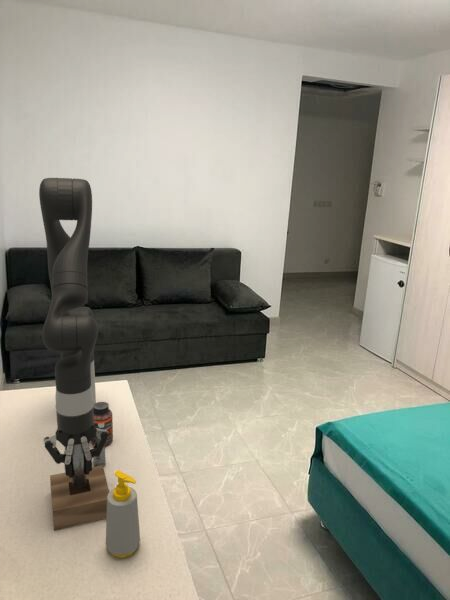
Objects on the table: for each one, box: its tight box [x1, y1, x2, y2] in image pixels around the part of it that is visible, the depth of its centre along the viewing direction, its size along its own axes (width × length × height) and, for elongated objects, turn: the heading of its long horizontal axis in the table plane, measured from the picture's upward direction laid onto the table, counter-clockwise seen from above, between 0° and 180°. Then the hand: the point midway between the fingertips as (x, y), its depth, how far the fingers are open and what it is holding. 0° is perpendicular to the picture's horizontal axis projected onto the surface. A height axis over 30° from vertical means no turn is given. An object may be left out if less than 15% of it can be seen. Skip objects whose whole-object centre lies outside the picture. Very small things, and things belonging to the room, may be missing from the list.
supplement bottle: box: [90, 401, 114, 447], centre depth 132 cm, size 6×6×11 cm
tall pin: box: [71, 443, 86, 488], centre depth 107 cm, size 3×3×11 cm
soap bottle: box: [105, 469, 141, 559], centre depth 97 cm, size 7×7×18 cm
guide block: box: [49, 465, 110, 531], centre depth 110 cm, size 12×12×5 cm
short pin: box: [92, 446, 107, 468], centre depth 123 cm, size 3×3×5 cm
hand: (78, 473), depth 108 cm, fingers closed on tall pin, 3 cm apart
